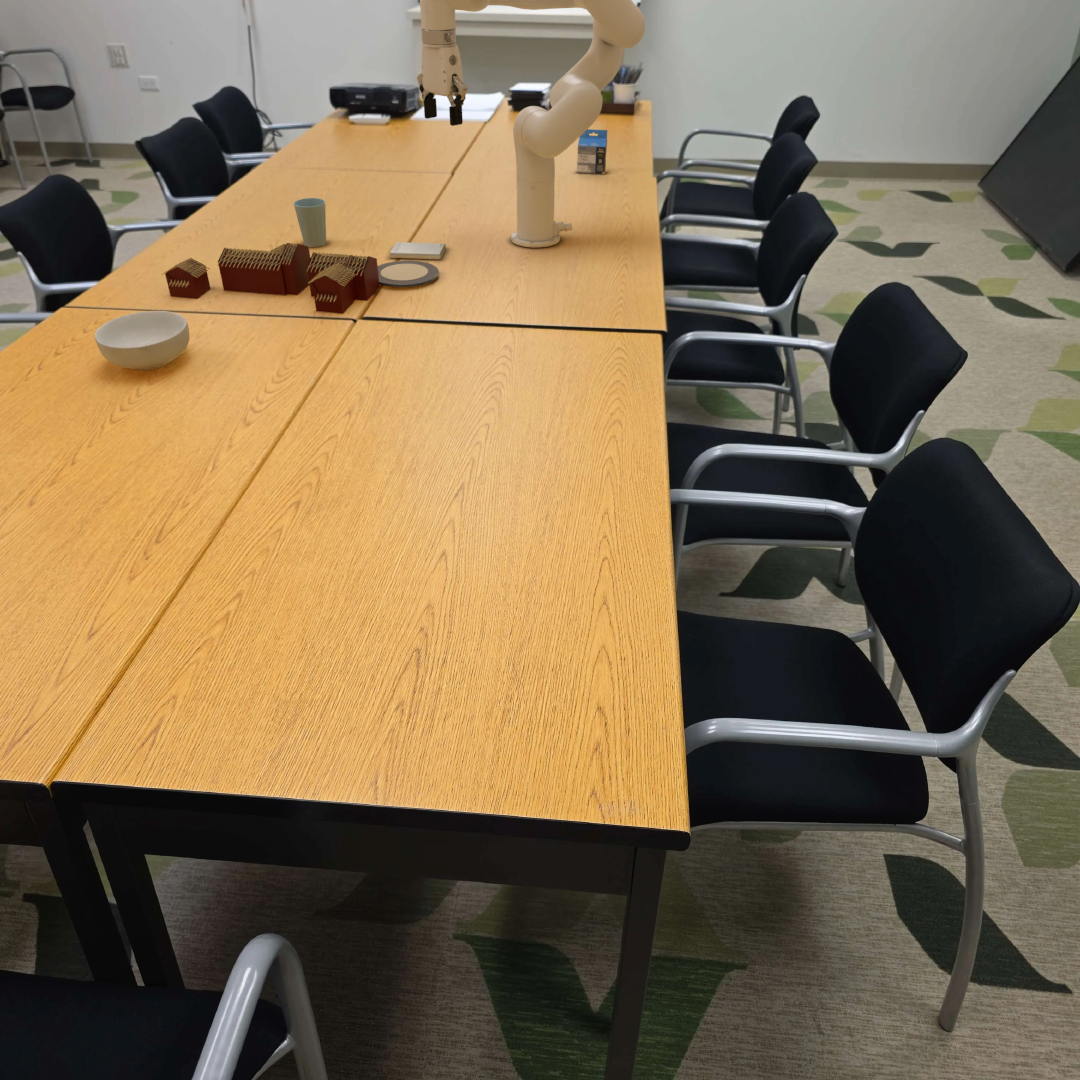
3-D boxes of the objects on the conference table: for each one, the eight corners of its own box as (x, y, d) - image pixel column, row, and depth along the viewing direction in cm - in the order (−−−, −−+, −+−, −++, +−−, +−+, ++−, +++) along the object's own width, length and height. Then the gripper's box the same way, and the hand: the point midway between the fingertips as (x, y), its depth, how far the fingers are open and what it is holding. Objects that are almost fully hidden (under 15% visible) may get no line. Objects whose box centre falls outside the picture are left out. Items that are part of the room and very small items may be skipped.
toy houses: (383, 283, 211) (379, 239, 205) (351, 317, 195) (345, 271, 189) (204, 269, 219) (194, 226, 213) (158, 301, 202) (147, 255, 196)
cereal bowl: (118, 344, 184) (109, 311, 179) (203, 342, 185) (195, 308, 181) (92, 383, 170) (81, 347, 166) (184, 379, 171) (175, 344, 167)
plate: (429, 262, 223) (429, 256, 222) (446, 285, 211) (446, 279, 210) (364, 270, 218) (363, 264, 217) (378, 293, 206) (377, 287, 205)
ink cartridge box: (576, 173, 289) (577, 131, 281) (578, 170, 292) (579, 128, 285) (604, 174, 288) (606, 132, 280) (605, 171, 291) (607, 129, 283)
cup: (334, 246, 232) (328, 204, 226) (303, 250, 229) (297, 208, 223) (326, 237, 238) (321, 196, 231) (297, 241, 235) (290, 200, 229)
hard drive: (445, 242, 230) (396, 241, 231) (439, 253, 223) (389, 251, 224) (446, 249, 231) (397, 247, 232) (440, 260, 224) (390, 258, 225)
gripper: (476, 40, 199) (479, 125, 209) (429, 32, 209) (434, 112, 220) (449, 44, 195) (453, 130, 205) (402, 35, 205) (408, 117, 215)
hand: (443, 121), depth 212 cm, fingers open, 9 cm apart
